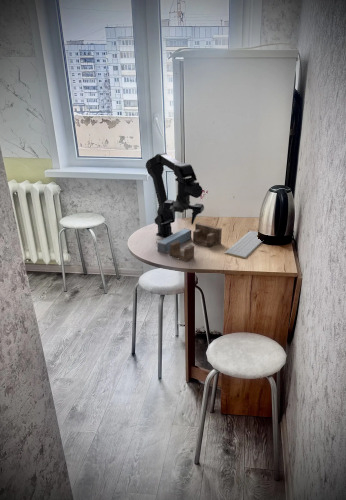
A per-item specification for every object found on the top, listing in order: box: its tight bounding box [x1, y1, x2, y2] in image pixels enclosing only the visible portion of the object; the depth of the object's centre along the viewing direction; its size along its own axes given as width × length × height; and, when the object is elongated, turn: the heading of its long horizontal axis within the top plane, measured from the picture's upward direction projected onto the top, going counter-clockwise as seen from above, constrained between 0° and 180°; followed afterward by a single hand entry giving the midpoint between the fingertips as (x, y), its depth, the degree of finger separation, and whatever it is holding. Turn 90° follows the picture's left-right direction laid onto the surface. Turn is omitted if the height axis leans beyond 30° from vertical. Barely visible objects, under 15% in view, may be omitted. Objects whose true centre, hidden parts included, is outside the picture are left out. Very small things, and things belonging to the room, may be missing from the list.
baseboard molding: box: [223, 229, 263, 260], centre depth 190 cm, size 31×3×12 cm
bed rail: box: [156, 227, 192, 254], centre depth 190 cm, size 4×22×4 cm, turn 143°
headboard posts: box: [169, 222, 223, 262], centre depth 184 cm, size 14×26×8 cm, turn 143°
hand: (183, 223), depth 185 cm, fingers open, 9 cm apart
